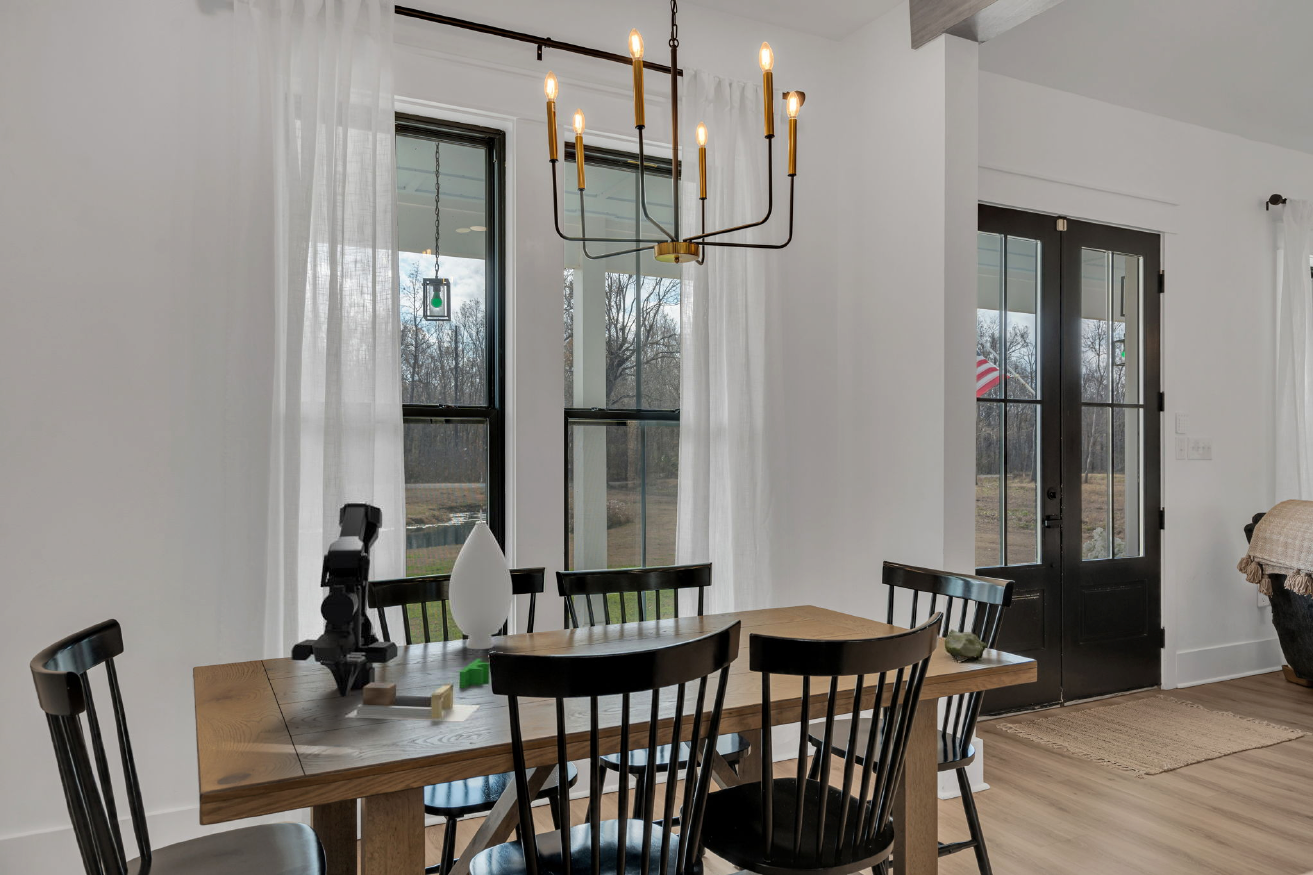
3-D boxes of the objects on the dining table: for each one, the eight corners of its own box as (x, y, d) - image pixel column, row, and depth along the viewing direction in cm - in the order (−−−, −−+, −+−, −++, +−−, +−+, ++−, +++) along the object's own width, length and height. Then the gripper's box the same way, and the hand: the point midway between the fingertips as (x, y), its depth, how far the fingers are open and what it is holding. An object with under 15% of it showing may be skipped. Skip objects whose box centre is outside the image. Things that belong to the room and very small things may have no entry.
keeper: (362, 711, 162) (363, 687, 162) (370, 706, 165) (371, 682, 165) (388, 712, 161) (388, 688, 162) (396, 707, 165) (396, 683, 165)
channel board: (344, 722, 159) (344, 693, 159) (368, 706, 169) (368, 679, 169) (463, 727, 156) (463, 697, 157) (480, 710, 166) (480, 682, 166)
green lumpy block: (936, 661, 213) (935, 628, 214) (969, 662, 215) (968, 629, 217) (959, 663, 204) (958, 628, 206) (993, 664, 206) (991, 630, 208)
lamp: (515, 651, 215) (516, 510, 216) (449, 655, 211) (451, 511, 212) (508, 638, 231) (509, 506, 231) (447, 641, 226) (448, 507, 227)
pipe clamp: (476, 694, 178) (477, 672, 178) (459, 694, 179) (459, 671, 179) (493, 679, 189) (493, 658, 189) (476, 679, 190) (476, 658, 190)
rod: (394, 713, 162) (394, 698, 161) (400, 707, 164) (400, 693, 164) (430, 714, 161) (430, 699, 161) (436, 709, 164) (435, 694, 163)
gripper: (275, 621, 157) (274, 707, 157) (373, 623, 155) (373, 711, 155) (306, 609, 169) (306, 690, 168) (399, 612, 167) (398, 693, 166)
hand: (344, 696), depth 164 cm, fingers closed
